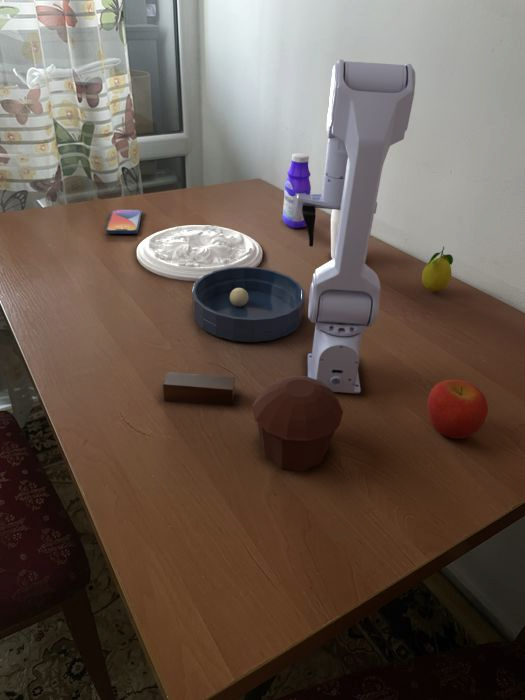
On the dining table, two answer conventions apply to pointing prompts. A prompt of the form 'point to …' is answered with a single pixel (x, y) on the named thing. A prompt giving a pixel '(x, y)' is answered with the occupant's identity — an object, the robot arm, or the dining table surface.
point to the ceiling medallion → (197, 251)
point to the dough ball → (239, 297)
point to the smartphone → (124, 222)
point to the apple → (457, 408)
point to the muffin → (296, 421)
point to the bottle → (296, 190)
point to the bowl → (248, 304)
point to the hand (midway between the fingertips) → (330, 246)
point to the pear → (437, 272)
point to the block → (199, 388)
